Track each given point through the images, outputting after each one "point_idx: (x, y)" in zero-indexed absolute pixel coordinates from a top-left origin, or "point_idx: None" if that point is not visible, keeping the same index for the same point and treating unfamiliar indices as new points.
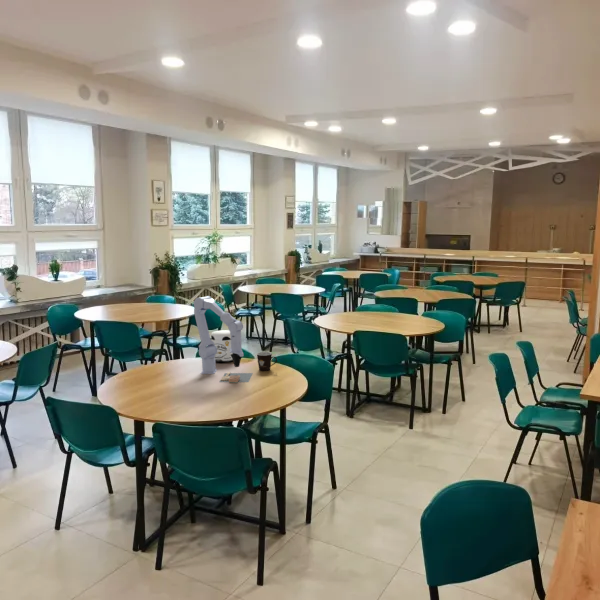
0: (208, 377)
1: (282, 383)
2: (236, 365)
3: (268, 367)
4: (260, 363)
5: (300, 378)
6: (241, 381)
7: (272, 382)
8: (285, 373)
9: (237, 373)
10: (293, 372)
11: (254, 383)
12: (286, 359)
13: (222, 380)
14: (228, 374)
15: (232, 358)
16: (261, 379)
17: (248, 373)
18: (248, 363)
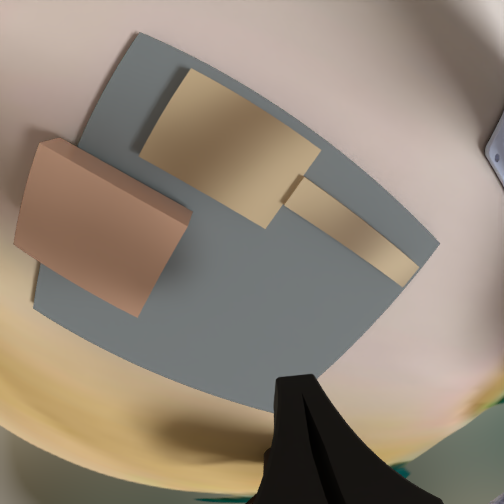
0: (431, 45)
1: (21, 411)
2: (276, 404)
3: None
4: None
5: (87, 467)
6: None
7: (36, 398)
8: (182, 477)
9: (352, 333)
10: (184, 488)
11: (20, 328)
12: None
13: (181, 87)
14: (347, 241)
15: (381, 473)
16: (103, 397)
17: None
18: (459, 404)
